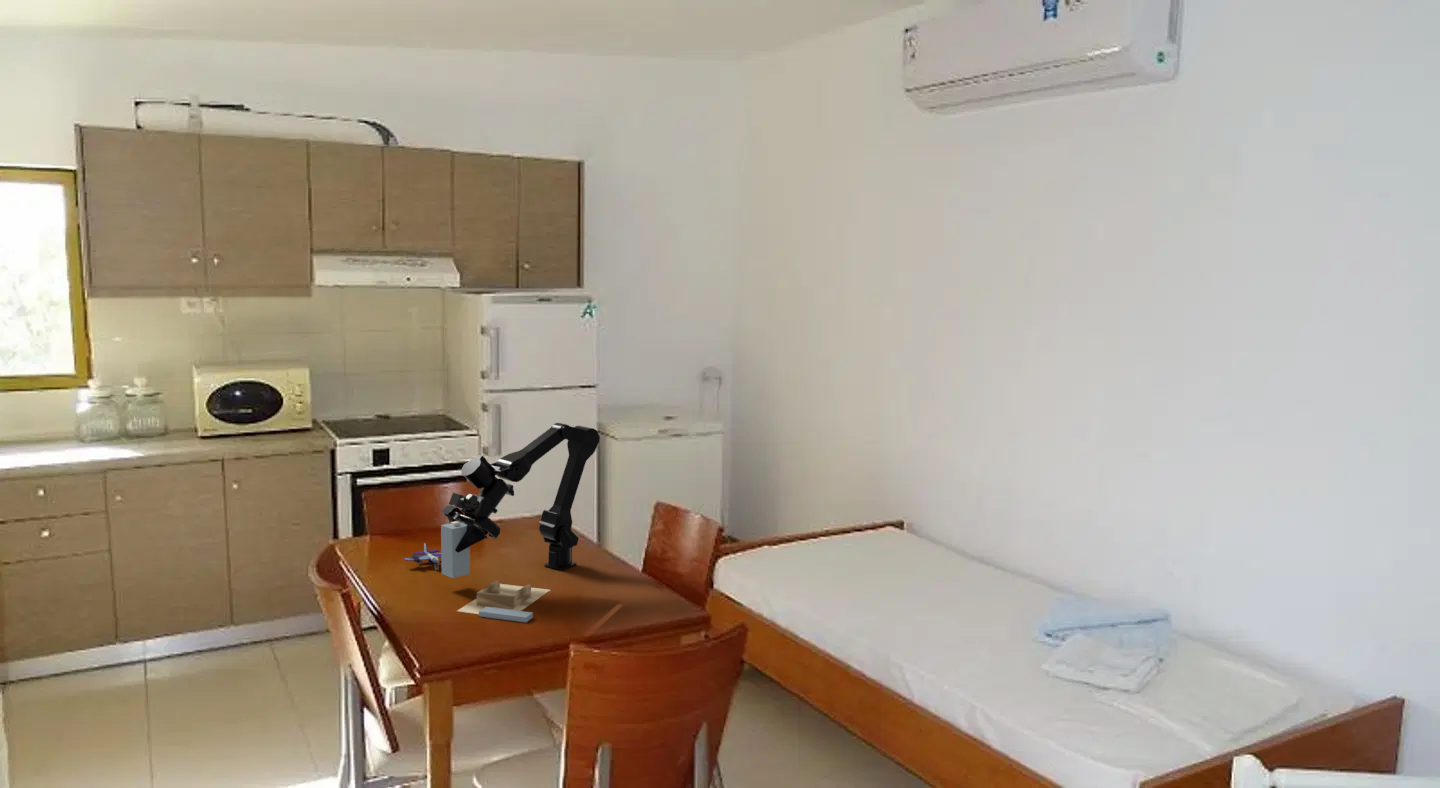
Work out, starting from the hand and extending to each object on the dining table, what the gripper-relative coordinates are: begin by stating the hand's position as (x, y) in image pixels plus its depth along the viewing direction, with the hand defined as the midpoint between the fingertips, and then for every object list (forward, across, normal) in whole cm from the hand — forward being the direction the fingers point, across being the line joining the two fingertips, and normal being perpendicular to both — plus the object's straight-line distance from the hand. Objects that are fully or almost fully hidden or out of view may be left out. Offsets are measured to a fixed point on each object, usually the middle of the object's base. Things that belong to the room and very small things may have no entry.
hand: (450, 549), depth 257 cm
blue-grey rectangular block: (+4, 0, +6) cm, 7 cm away
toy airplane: (+2, -22, +14) cm, 26 cm away
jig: (+4, +16, +12) cm, 20 cm away
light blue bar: (+8, +26, +6) cm, 28 cm away
